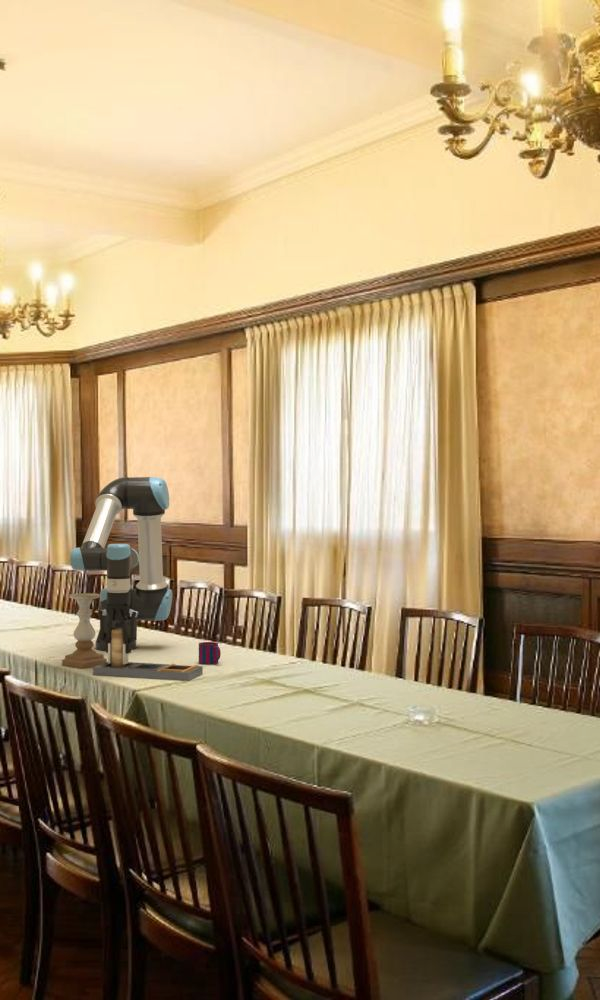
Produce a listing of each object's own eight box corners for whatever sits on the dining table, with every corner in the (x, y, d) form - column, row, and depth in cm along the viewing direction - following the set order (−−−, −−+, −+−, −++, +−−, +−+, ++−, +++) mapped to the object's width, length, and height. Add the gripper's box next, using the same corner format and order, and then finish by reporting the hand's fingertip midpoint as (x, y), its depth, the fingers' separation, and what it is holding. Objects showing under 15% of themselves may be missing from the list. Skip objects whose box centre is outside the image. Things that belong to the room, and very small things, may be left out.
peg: (115, 671, 331) (115, 628, 331) (127, 671, 330) (127, 629, 330) (109, 673, 327) (109, 630, 327) (121, 674, 326) (121, 630, 326)
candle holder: (82, 668, 335) (82, 597, 335) (61, 665, 342) (61, 594, 342) (107, 664, 344) (107, 594, 344) (86, 661, 351) (86, 592, 350)
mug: (212, 660, 352) (212, 641, 352) (226, 665, 344) (226, 645, 344) (195, 662, 349) (195, 642, 349) (208, 666, 340) (209, 646, 340)
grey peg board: (109, 668, 336) (109, 660, 336) (202, 674, 327) (202, 665, 327) (92, 674, 324) (92, 666, 324) (188, 680, 315) (188, 671, 315)
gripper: (88, 591, 327) (88, 663, 327) (138, 593, 322) (138, 666, 322) (99, 589, 334) (99, 659, 334) (148, 591, 329) (147, 662, 330)
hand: (118, 662), depth 328 cm, fingers open, 4 cm apart
